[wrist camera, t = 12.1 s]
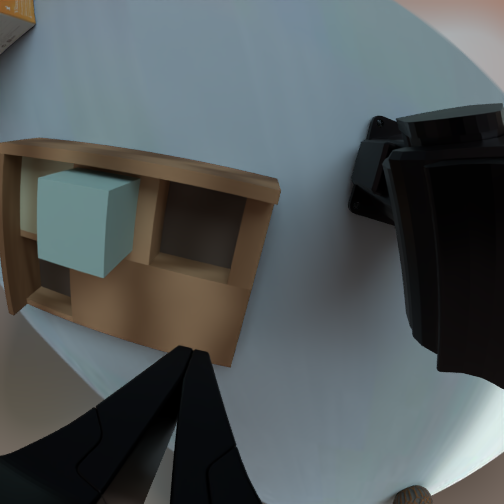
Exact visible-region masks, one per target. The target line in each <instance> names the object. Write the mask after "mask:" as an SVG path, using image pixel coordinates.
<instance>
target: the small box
mask: <svg viewBox="0 0 504 504" xmlns="http://www.w3.org/2000/svg"><path fill="white" fill-rule="evenodd" d="M35 24H36V22H35V16H34V5H33V0H0V54H1V53H3V52H4V51H5V50H6V49H7V48H8V47H9V46H10V45H11V44H13V43H14V42H15V41H16V40H17V39H18V38H20V37H21V36H22V35H23V34H24V33H25V32H27V31H28V30H29V29H30V28H32V27H33V26H34V25H35Z"/></svg>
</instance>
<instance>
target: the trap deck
mask: <svg viewBox="0 0 504 504" xmlns="http://www.w3.org/2000/svg"><path fill="white" fill-rule="evenodd" d="M77 167H78V168H84V169H90V170H96V171H102V172H108V173H114V174H119V175H125V176H131V177H136V178H141V179H140V186H139V193H138V201H137V209H136V218H135V227H134V237H133V248H132V251H131V252H130V253H129V254H128V255H127V256H126V257H125V258H124V259H123V260H122V261H121V262H120V263H119V264H118V265H117V266H116V267H115V268H114V269H113V270H112V271H111V272H110V273H108V274H107V275H106V276H105V277H104V278H101V277H98V276H94V275H91V274H88V273H84V272H81V271H78V270H74V269H71V268H68V267H65V266H62V265H59V264H56V263H52V262H49V261H46V260H43V259H40V258H38V245H37V190H38V178H39V177H43V176H46V175H50V174H54V173H57V172H61V171H65V170H69V169H73V168H77ZM280 193H281V189H280V186H279V183H278V180H277V179H276V178H272V177H268V176H263V175H259V174H255V173H251V172H247V171H242V170H238V169H233V168H229V167H224V166H220V165H215V164H210V163H205V162H200V161H195V160H190V159H185V158H180V157H174V156H169V155H163V154H158V153H152V152H146V151H140V150H134V149H127V148H121V147H114V146H107V145H100V144H92V143H84V142H76V141H67V140H58V139H48V138H32V139H24V140H16V141H9V142H2V143H0V258H1V267H2V275H3V282H4V288H5V294H6V299H7V305H8V310H9V313H10V314H12V315H15V314H16V313H17V312H18V311H20V310H21V309H22V308H23V307H24V306H25V305H26V304H29V305H32V306H34V307H36V308H39V309H41V310H44V311H46V312H49V313H51V314H54V315H56V316H59V317H61V318H64V319H66V320H69V321H72V322H74V323H77V324H80V325H82V326H85V327H88V328H91V329H94V330H97V331H99V332H102V333H105V334H108V335H111V336H114V337H117V338H121V339H124V340H127V341H130V342H133V343H137V344H140V345H143V346H147V347H150V348H154V349H157V350H161V351H164V352H168V353H169V352H170V351H171V350H173V349H174V348H175V347H177V346H178V345H182V346H186V347H190V348H192V349H193V350H194V349H198V350H202V351H206V352H208V353H209V355H210V359H211V362H212V364H217V365H221V366H226V367H231V364H232V360H233V356H234V353H235V349H236V345H237V342H238V338H239V334H240V331H241V327H242V323H243V319H244V316H245V312H246V308H247V305H248V301H249V297H250V293H251V290H252V286H253V282H254V278H255V275H256V271H257V267H258V263H259V260H260V256H261V252H262V248H263V244H264V241H265V237H266V233H267V229H268V225H269V222H270V218H271V214H272V210H273V206H274V204H276V205H277V204H278V201H279V197H280Z"/></svg>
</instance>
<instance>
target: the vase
mask: <svg viewBox="0 0 504 504" xmlns="http://www.w3.org/2000/svg"><path fill="white" fill-rule="evenodd" d="M393 504H433V500H432V497H431V494H430V493H429V491H428V490H427V489H426V488H424V487H421V486H418V485H416V486H411V487H408V488H406V489H404V490H402V491H401V492H399V493H398V494H397V496H396V497H395V499H394V501H393Z"/></svg>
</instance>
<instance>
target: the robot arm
mask: <svg viewBox="0 0 504 504" xmlns="http://www.w3.org/2000/svg"><path fill="white" fill-rule="evenodd" d="M377 120H380V121H381V122H382V125H381V127H378V126H377ZM396 121H397V122H396ZM396 121H393V120H391V119H388V118H386V117H383V116H375V117H373V118H372V120H371V123H370V127H369V131H368V135H367V139H366V140H364V141H362V142H361V145H360V148H359V152H358V156H357V159H356V163H355V167H354V170H353V174H352V177H351V179H352V181H353V183H354V186H353V189H352V193H351V196H350V199H349V203H348V207H349V209H350V211H351V212H353V213H355V214H358V215H361V216H364V217H368V218H371V219H374V220H378V221H381V222H384V223H387V224H391V225H394V226H395V229H396V235H397V241H398V247H399V254H400V261H401V269H402V277H403V286H404V296H405V307H406V314H407V318H408V321H409V324H410V327H411V328H412V335H413V337H414V338H415V339H416V340H417V341H418V342H419V343H420V344H421V345H422V346H424V347H425V348H427V349H429V350H430V351H432V352H434V353H436V354H437V370H438V371H439V372H454V373H465V374H469V375H472V376H476V377H480V378H483V379H485V380H487V381H489V382H491V383H493V384H495V385H497V386H499V387H500V388H502V389H504V108H503V104H502V103H498V104H482V105H470V106H462V107H456V108H449V109H443V110H437V111H432V112H426V113H421V114H416V115H411V116H406V117H401V118H396ZM356 202H359V207H358V208H357V209H354V204H355V203H356ZM176 423H177V429H176V439H175V449H174V460H173V471H172V483H171V496H170V504H262V502H261V500H260V498H259V497H258V495H257V493H256V491H255V489H254V487H253V485H252V483H251V481H250V479H249V477H248V475H247V472H246V470H245V467H244V465H243V462H242V459H241V456H240V454H239V451H238V448H237V447H236V442H235V439H234V436H233V433H232V430H231V426H230V423H229V420H228V417H227V414H226V410H225V407H224V404H223V401H222V397H221V394H220V390H219V387H218V384H217V380H216V377H215V373H214V370H213V366H212V362H211V359H210V355H209V353H208V352H206V351H202V350H198V349H194V350H193V349H192V348H190V347H186V346H182V345H178V346H177V347H175V348H174V349H173V350H171V351H170V352H169V353H167V354H166V355H165V356H163V357H162V358H161V359H159V360H158V361H157V362H155V363H154V364H153V365H151V366H150V367H149V368H147V369H146V370H145V371H143V372H142V373H141V374H139V375H138V376H136V377H135V378H134V379H132V380H131V381H130V382H128V383H127V384H126V385H124V386H123V387H121V388H120V389H119V390H117V391H116V392H115V393H113V394H112V395H110V396H109V397H108V398H106V399H105V400H103V401H102V402H101V403H100V404H98V405H97V406H96V408H92V409H91V410H89V411H88V412H86V413H85V414H84V415H82V416H81V417H79V418H78V419H76V420H74V421H73V422H71V423H70V424H68V425H67V426H65V427H63V428H61V429H59V430H58V431H55V432H54V433H52V434H50V435H48V436H46V437H44V438H42V439H40V440H38V441H36V442H34V443H31V444H29V445H27V446H25V447H24V448H21V449H19V450H17V451H14V452H12V453H9V454H6V455H2V456H0V504H144V502H145V499H146V497H147V494H148V492H149V489H150V487H151V484H152V482H153V480H154V477H155V475H156V472H157V470H158V467H159V465H160V462H161V460H162V457H163V455H164V453H165V450H166V448H167V446H168V443H169V441H170V438H171V436H172V433H173V431H174V429H175V426H176Z"/></svg>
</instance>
